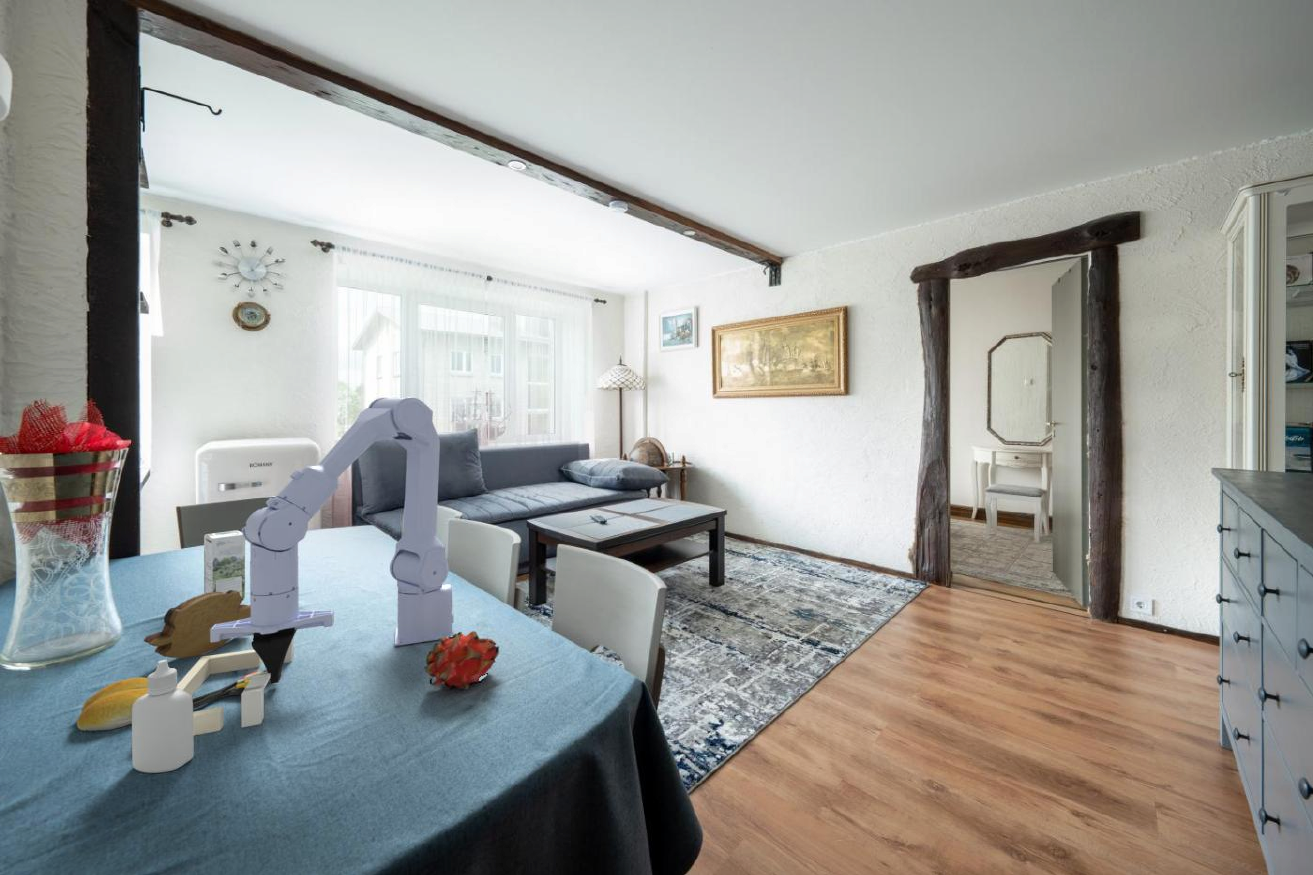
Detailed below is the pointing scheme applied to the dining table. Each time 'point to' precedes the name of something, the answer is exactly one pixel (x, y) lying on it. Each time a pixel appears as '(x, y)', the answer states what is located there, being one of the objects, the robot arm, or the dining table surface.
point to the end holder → (207, 665)
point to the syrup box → (224, 562)
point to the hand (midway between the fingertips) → (275, 680)
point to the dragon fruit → (460, 660)
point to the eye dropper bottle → (162, 724)
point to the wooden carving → (197, 624)
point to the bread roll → (112, 705)
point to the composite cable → (226, 690)
